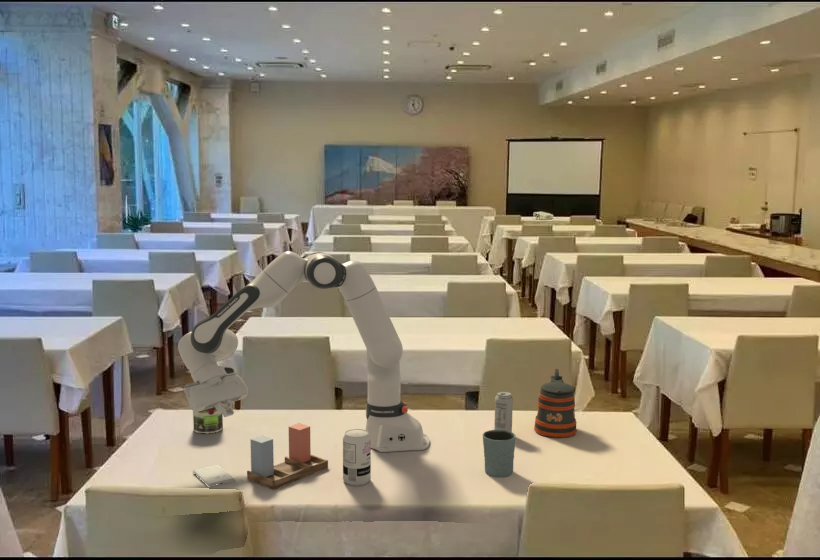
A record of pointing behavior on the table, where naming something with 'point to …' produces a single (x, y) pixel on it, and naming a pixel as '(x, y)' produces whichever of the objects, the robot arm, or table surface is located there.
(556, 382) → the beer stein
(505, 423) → the energy drink can
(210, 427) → the coffee can
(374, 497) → the table surface
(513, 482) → the table surface
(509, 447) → the teal cup
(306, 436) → the brick key
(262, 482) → the wooden compartment tray
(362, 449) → the supplement can
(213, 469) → the external hard drive
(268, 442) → the blue-grey rectangular block
